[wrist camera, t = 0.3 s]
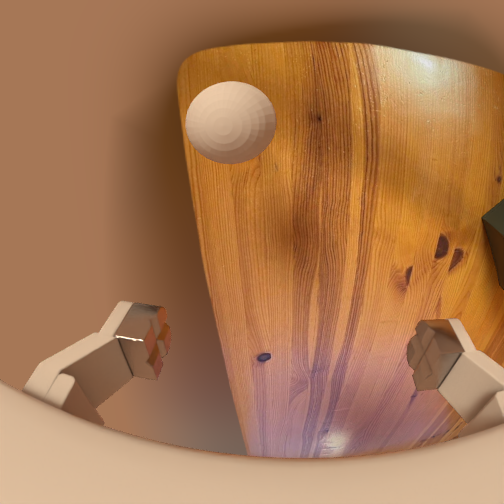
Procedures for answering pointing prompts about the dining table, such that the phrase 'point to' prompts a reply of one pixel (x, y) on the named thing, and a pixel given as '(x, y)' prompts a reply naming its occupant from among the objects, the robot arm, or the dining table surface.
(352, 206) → the dining table surface
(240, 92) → the lollipop
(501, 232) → the bin
